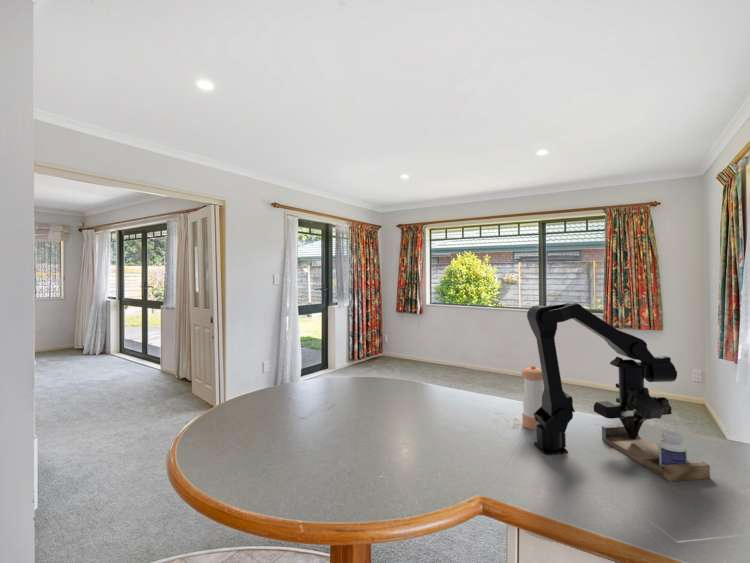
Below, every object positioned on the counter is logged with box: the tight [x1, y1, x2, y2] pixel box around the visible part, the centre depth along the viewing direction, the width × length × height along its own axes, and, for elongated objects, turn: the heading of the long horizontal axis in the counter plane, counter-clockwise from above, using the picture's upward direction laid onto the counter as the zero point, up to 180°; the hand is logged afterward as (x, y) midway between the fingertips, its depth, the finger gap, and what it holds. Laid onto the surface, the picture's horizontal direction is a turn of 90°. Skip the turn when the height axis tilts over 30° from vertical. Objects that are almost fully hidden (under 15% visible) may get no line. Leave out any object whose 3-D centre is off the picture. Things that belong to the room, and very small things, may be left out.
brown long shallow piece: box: [601, 423, 711, 482], centre depth 98 cm, size 10×22×4 cm, turn 5°
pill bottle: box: [658, 430, 688, 468], centre depth 92 cm, size 5×5×9 cm
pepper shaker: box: [521, 364, 544, 430], centre depth 121 cm, size 7×7×19 cm
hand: (632, 439), depth 104 cm, fingers closed
